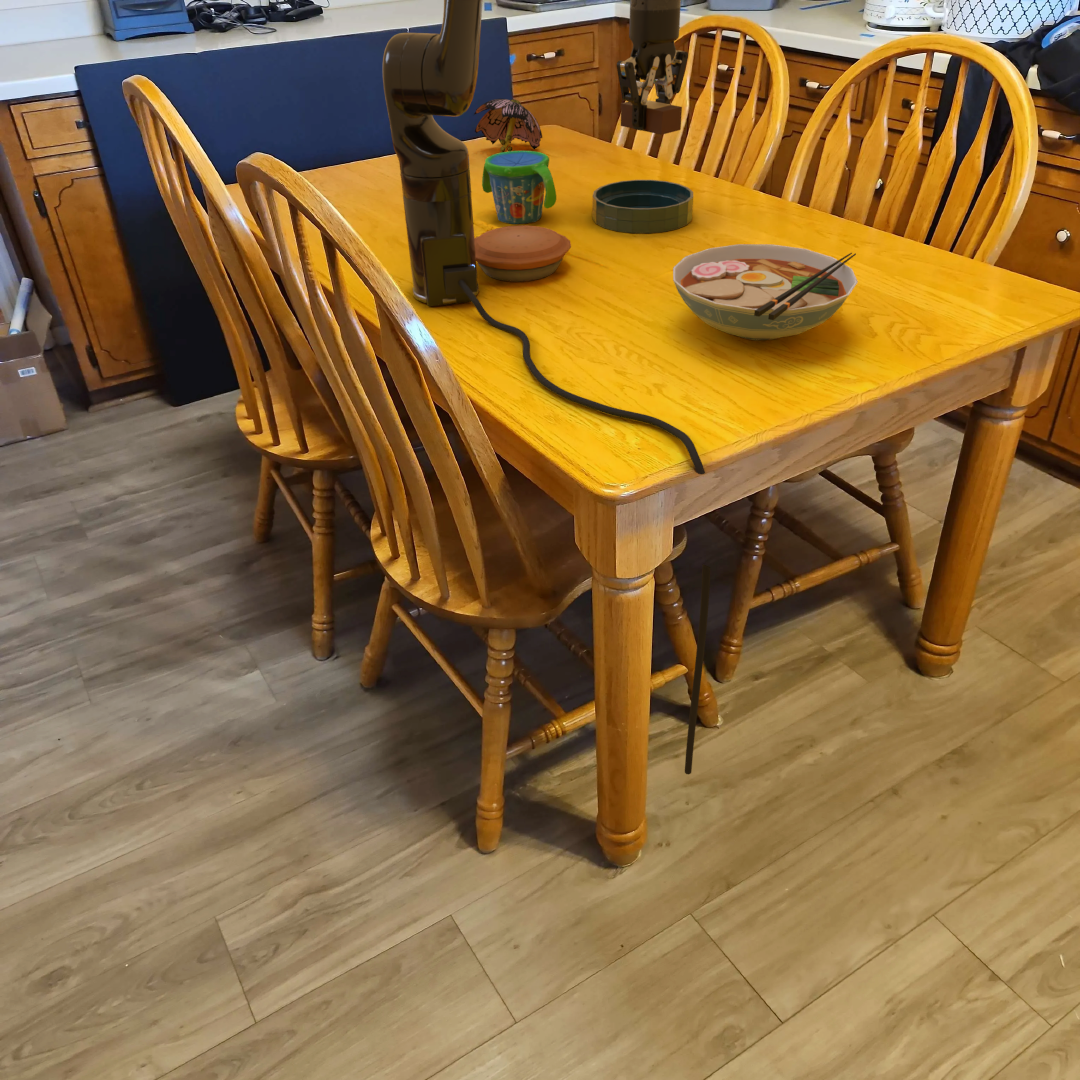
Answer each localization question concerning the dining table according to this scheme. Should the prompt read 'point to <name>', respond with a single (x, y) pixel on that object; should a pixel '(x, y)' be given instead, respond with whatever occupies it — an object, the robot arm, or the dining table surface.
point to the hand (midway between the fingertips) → (650, 126)
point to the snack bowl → (642, 206)
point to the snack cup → (519, 185)
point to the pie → (520, 252)
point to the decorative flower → (508, 123)
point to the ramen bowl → (763, 288)
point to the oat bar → (655, 117)
